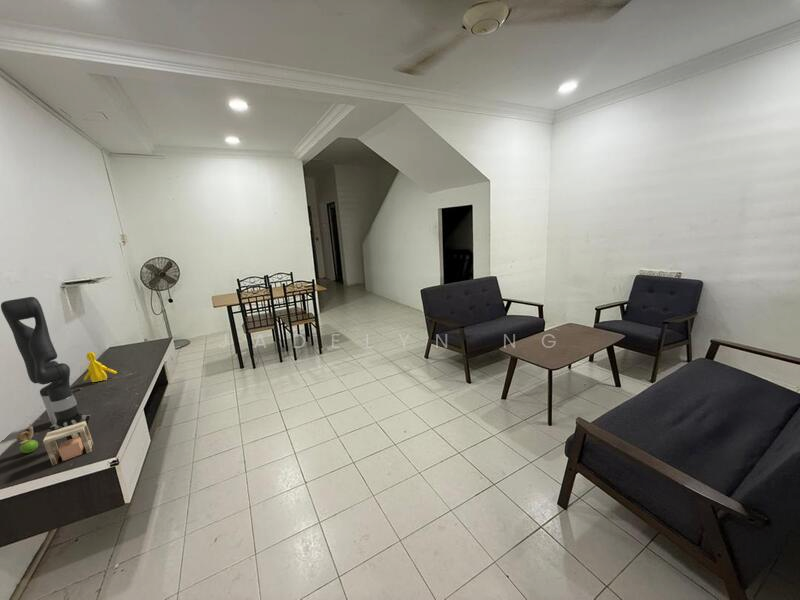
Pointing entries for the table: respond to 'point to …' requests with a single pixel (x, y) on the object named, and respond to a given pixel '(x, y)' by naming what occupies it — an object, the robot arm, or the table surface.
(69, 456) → the cube base joystick
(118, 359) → the table surface
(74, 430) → the beige u-shaped block
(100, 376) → the figure statuette
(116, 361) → the table surface
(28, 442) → the snail figurine
